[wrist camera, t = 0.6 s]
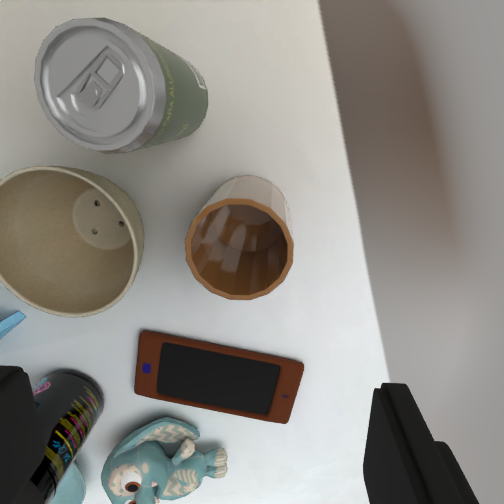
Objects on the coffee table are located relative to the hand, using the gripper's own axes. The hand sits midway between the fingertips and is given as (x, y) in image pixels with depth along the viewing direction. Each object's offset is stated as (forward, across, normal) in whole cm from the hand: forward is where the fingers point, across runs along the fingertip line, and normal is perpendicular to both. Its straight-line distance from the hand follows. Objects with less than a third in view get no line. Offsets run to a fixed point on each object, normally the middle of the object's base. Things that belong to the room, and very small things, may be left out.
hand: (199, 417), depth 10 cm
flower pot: (+20, +12, 0) cm, 23 cm away
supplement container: (+21, +18, +18) cm, 33 cm away
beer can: (+20, +6, -9) cm, 23 cm away
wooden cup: (+20, 0, 0) cm, 20 cm away
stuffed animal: (+21, +8, +24) cm, 33 cm away
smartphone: (+20, +3, +15) cm, 26 cm away
